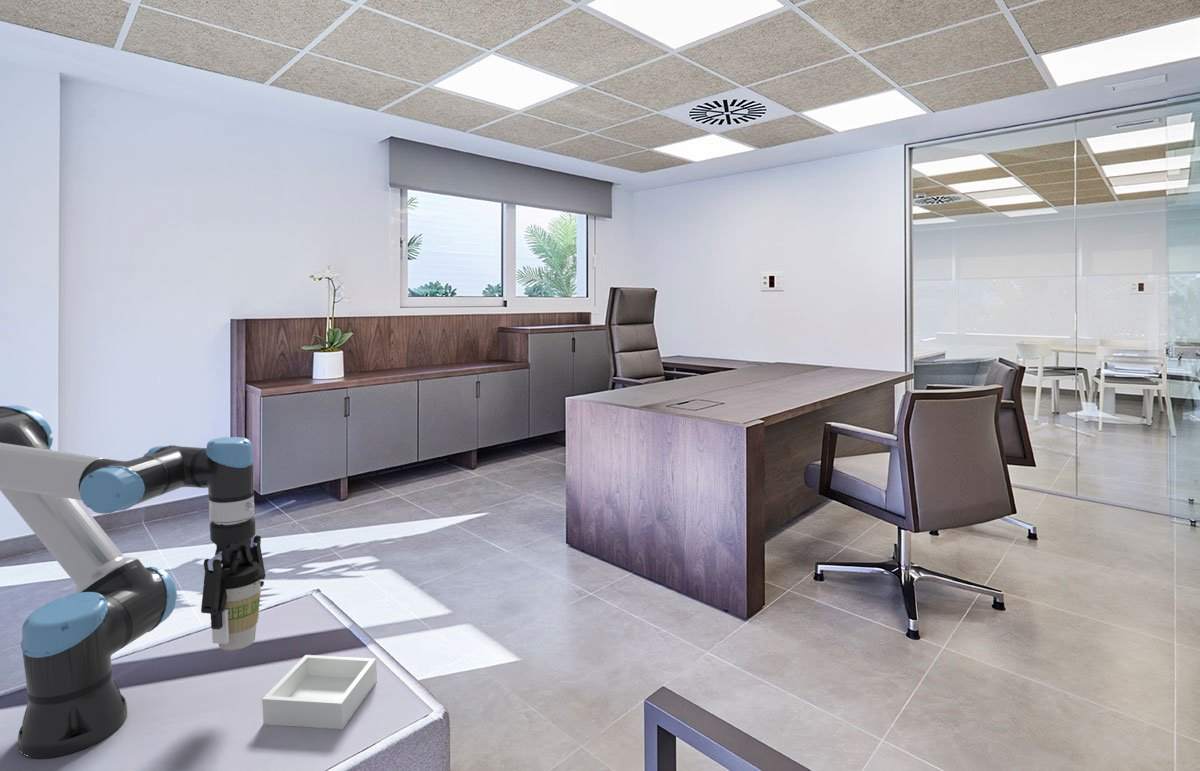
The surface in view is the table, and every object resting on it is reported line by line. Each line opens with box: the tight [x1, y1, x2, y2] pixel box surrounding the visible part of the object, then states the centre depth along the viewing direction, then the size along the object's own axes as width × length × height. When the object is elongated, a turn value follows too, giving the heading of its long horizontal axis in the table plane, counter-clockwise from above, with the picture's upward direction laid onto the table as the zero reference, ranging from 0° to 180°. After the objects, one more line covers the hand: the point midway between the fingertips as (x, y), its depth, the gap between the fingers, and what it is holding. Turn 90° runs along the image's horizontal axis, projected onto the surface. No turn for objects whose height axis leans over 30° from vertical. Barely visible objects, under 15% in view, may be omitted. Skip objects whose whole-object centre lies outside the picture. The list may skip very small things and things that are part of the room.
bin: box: [261, 654, 378, 730], centre depth 124 cm, size 15×15×5 cm
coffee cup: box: [218, 561, 264, 651], centre depth 124 cm, size 10×10×15 cm
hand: (236, 630), depth 125 cm, fingers closed on coffee cup, 9 cm apart
